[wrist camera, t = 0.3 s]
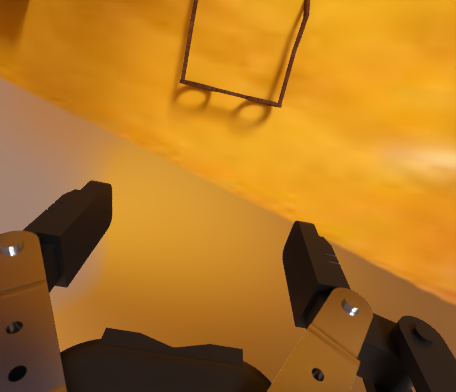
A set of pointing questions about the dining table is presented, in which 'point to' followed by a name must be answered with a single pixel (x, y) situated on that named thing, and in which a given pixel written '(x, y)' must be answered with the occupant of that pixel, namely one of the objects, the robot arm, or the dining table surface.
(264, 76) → the dining table surface
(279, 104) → the glasses
